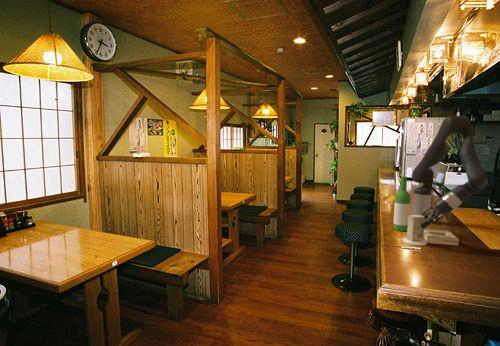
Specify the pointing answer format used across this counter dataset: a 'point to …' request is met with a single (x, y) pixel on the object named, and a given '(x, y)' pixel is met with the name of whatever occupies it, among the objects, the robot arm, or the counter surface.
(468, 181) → the robot arm
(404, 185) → the wine bottle
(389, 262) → the counter surface
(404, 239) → the dish
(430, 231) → the beige flat frame
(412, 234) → the skincare box
